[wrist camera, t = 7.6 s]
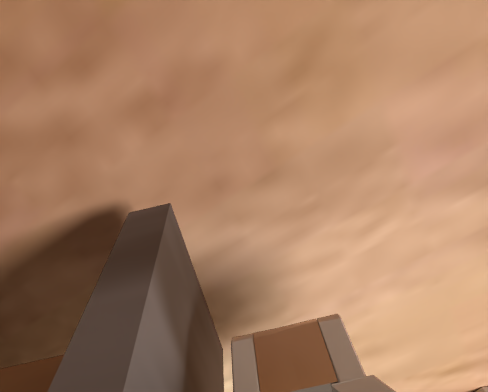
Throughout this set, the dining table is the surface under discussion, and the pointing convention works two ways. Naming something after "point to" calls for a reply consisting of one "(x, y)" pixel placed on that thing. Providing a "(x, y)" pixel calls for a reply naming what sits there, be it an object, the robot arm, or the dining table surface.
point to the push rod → (136, 323)
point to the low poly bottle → (482, 389)
